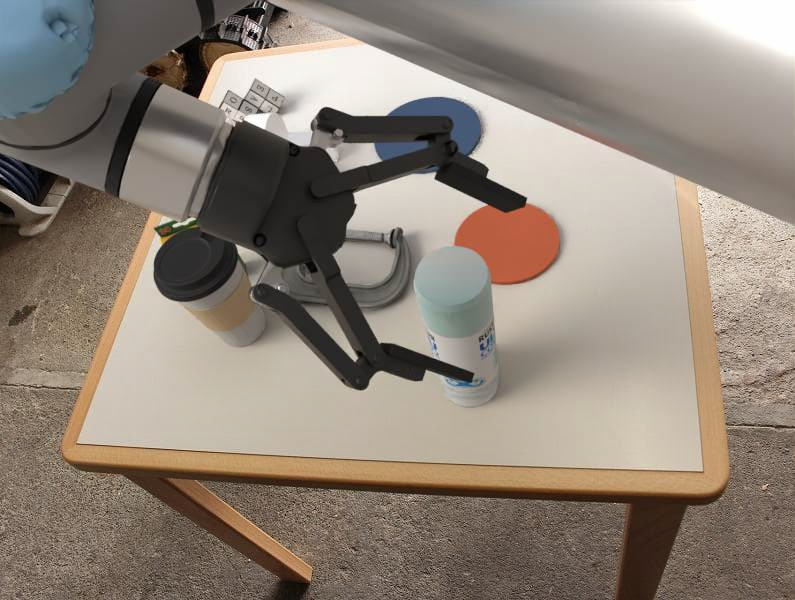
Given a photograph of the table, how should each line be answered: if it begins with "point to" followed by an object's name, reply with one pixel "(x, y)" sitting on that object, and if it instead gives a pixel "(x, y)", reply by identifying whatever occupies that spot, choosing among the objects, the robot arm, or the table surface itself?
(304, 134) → the u-slot mount
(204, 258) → the coffee cup
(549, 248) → the terracotta mat
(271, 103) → the building blocks
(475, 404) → the pale blue cylinder
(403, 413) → the table surface
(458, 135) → the slate-blue mat
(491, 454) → the table surface
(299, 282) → the c clamp
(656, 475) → the table surface
